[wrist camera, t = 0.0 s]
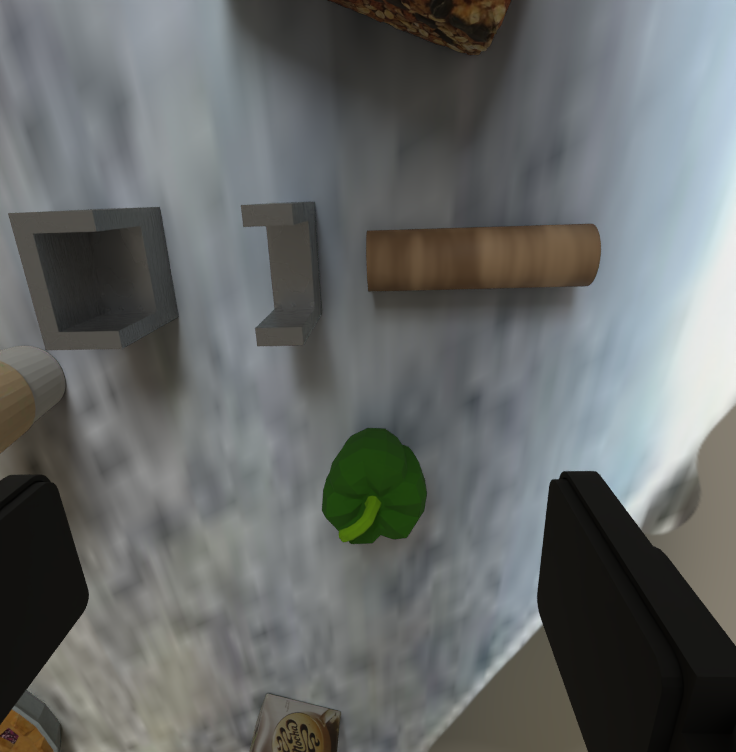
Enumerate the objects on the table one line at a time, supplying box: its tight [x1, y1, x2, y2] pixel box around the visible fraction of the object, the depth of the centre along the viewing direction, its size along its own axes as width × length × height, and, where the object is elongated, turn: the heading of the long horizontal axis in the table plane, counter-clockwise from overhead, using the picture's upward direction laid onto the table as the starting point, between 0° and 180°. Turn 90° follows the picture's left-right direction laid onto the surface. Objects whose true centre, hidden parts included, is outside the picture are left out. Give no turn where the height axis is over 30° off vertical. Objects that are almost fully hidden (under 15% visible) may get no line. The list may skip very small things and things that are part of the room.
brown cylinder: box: [366, 224, 601, 291], centre depth 36 cm, size 16×4×4 cm, turn 92°
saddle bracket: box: [241, 202, 322, 346], centre depth 34 cm, size 9×3×9 cm, turn 2°
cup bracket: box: [8, 207, 178, 350], centre depth 35 cm, size 9×5×9 cm, turn 2°
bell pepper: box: [322, 428, 427, 544], centre depth 39 cm, size 8×8×10 cm
